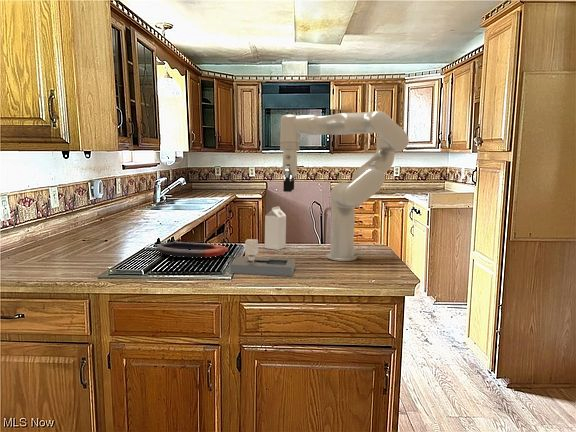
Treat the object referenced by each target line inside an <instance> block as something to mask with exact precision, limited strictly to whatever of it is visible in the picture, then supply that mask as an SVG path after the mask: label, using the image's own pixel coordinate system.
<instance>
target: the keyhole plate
mask: <svg viewBox="0 0 576 432" xmlns="http://www.w3.org/2000/svg"><path fill="white" fill-rule="evenodd" d="M229 267H230V271H231V272H233V273H232V274H237V275H239V274H240V275H256V276H257V275H261V276H277V277H278V276H279V277H280V276H281V277H292V276H293V274H294V270H295V267H296V258H288V257H287V258H285V257H262V256H255V262H248V256H243V255H242V256H241V255H240V256H239V255H238V256H237V257H236V258H235V259H234V261H232V263H231V264H230V266H229Z"/></svg>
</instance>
